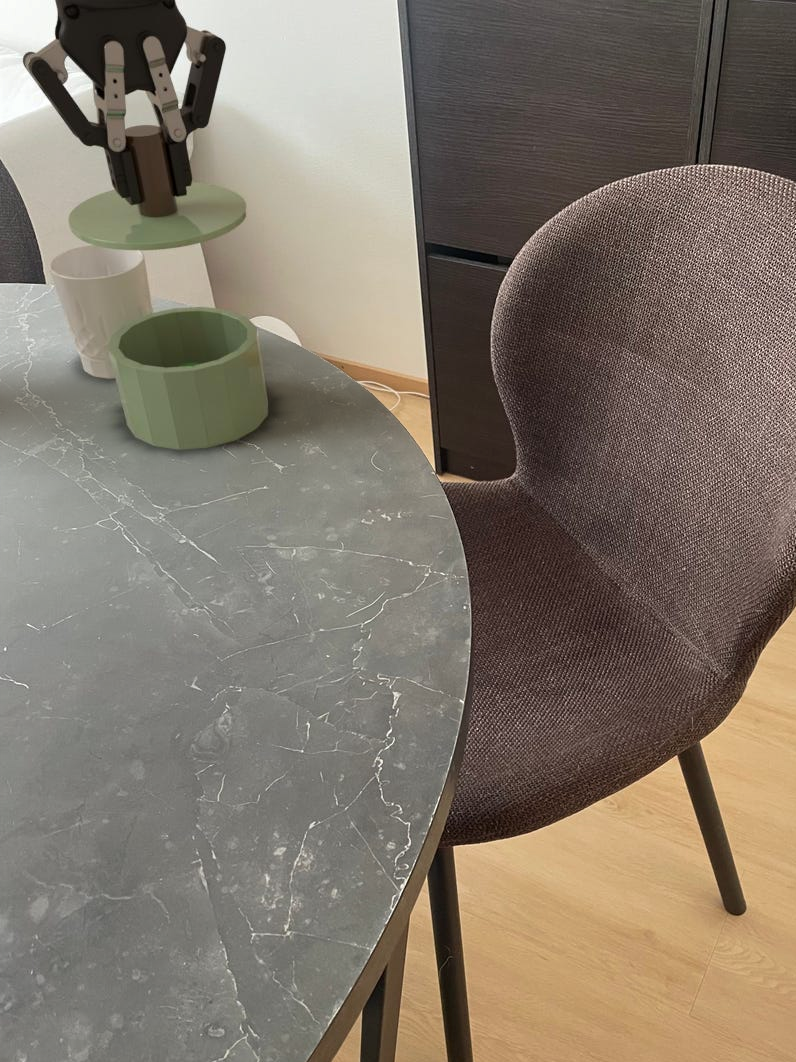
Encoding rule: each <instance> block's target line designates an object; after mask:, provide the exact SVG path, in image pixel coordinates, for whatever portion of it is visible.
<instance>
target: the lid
mask: <svg viewBox="0 0 796 1062" xmlns="http://www.w3.org/2000/svg"><path fill="white" fill-rule="evenodd" d="M125 136H126V148H128V149H129V150H130V151H131V154H132V159H133V163H134V168H135V173H136V178H137V183H138V187H139V192H140V197H141V204H137V205H130V204H129V203H128V202H127V201H126V200H125V198H122V197H121V196H120V195H119V194H118V193H117V192H116V190H115V189H112V190H108V191H104V192H102V193H99V194H96V195H94V196H92V197H89V198H87V199H86V200H84V201H82V202H80V203H78V204H77V206H75V207H74V208H73V209H71V212H70V213H69V215H68V219H67V221H68V226H69V229H70V232H71V233H72V234H73V236H74V237H76V238H77V239H79V240H81V241H82V242H84V243H87V244H88V245H90V244H92V245H96V246H100V247H105V248H111V249H119V250H141V251H158V250H169V249H170V250H171V249H177V248H183V247H188V246H193V245H197V244H202V243H205V242H208V241H212V240H214V239H217V238H219V237H222V236H225V235H226V234H229V233H230V232H231V231H233V230H236V228H238V227H239V226H240V225H241V224H242V223H243V222H244V221H245V219H246V218H247V215H248V208H247V202H246V201H245V198H243V196H241V195H240V194H238V192H236V191H234V190H232V189H230V188H226V187H223V186H220V185H215V184H211V183H203V182H194V181H192V183H191V186H187V187H186V190H187V195H185V196H180V197H176V196H175V191H174V186H173V180H172V175H171V170H170V164H169V159H168V154H167V148H166V143H165V138H164V132H163V129H162V128H161V127H159V125H153V124H141V125H134V126H130V127H126V128H125Z"/></svg>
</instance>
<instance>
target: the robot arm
mask: <svg viewBox="0 0 796 1062" xmlns="http://www.w3.org/2000/svg"><path fill="white" fill-rule="evenodd" d="M54 2H55V6H56V11H57V12H56V13H57V19H56V24H55V27H54V36H55V39H54V40H52V41H51V42H49V43H48V44H47V45H45V46H44V47H43V48H41V49H40V50H38V51H37V52H35V51H28V52H25V54H24V55H23V56H22V64H23V66H24V68H25V69H26V71H27V72H28V74H29V75H30V76H31V77H32V79H33V80H34V82H35V83H36V84H37V86H38V87H39V89H40V90H41V92H42V93H43V94H44V96H45V97H46V98H47V100H48V101H49V103H50V104H51V105H52V107H53V109H55V111H56V113H58V115H59V116H60V118H61V119H62V121H63V122H64V124H65V125H66V126H67V127H68V129H69V130H70V132H71V133H72V134H73V135H74V136H75V137H76V138H77V139H78V140H79V141H80V143H82V144H83V145H84V146H86V147H94V146H95V147H100V148H103V151H104V154H105V159H106V163H107V167H108V172H109V176H110V181H111V185H112V187H113V190H116V192H117V193H118V194H119V195H120V196H121V197H122V198H125V200H126V201H127V202H128V203H129V204H130V205H137V204H141V197H140V192H139V187H138V183H137V178H136V173H135V168H134V163H133V159H132V154H131V151H130V150H129V149H128V148H126V136H125V129H126V122H125V117H126V114H127V105H126V103H127V102H126V96H128V95H130V94H132V93H134V92H137V91H144V92H145V94H146V96H147V98H148V100H149V102H150V104H151V106H152V109H153V112H154V116H155V118H156V122H157V126H159V127H161V128H162V129H163V132H164V138H165V143H166V148H167V154H168V159H169V164H170V170H171V175H172V180H173V186H174V191H175V196H176V197H180V196H185V195H187V190H186V187H187V186H191V183H192V182H193V173H192V169H191V162H190V156H189V151H188V145H187V141H188V140H187V139H188V137H189V135H190V134H191V133H193V132H194V131H196V130H198V129H205V128H207V126H208V125H209V123H210V120H211V119H210V118H211V115H212V110H213V106H214V102H215V97H216V93H217V90H218V89H217V88H218V84H219V82H220V81H219V80H220V76H221V71H222V67H223V64H224V59H225V56H226V52H227V51H226V50H227V44H226V42H225V41H224V39H223V38H222V37H219V36H217V35H216V34H214V33H212V32H211V31H209V30H206V29H203V30H198V29H196V28H194V27H190V26H188V23H187V22H186V19H185V18H184V15H183V14H182V13H181V11H180V10H179V7H178V4H177V2H176V0H54ZM184 44H185V47H186V52H185V53H186V58H187V60H188V61H189V62H191V63H190V68H189V73H188V77H187V81H186V86H185V91H184V95H183V100H182V104H181V108H179V99H178V95H177V93H176V90H175V87H174V84H173V80H172V77H171V76H172V75H171V74H172V72H173V70H174V69H175V66H176V63H177V60H178V58H179V56H180V53H181V51H182V49H183V47H184ZM66 58H69V59H70V60H71V61H72V62H73V63H74V64H75V65H76V66H77V67H78V68H79V69H80V71H82V72H83V73H84V74H85V76H86V77H87V78H88V79H90V80H91V82H92V91H93V93H92V94H93V101H94V102H93V103H94V104H95V108H96V109H95V110H96V119H97V122H93V121H91V120H90V121H89V119H88V118H87V116H86V115H85V114H84V112H83V111H82V110H81V108H80V106H79V105H78V103H77V102H76V101H75V99H74V98H73V97H72V95H71V94H70V93H69V91H68V89H67V88H66V87H65V84H66V83H67V82H68V79H69V73H68V70H67V68H66V65H65V61H66Z"/></svg>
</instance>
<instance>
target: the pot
mask: <svg viewBox="0 0 796 1062" xmlns="http://www.w3.org/2000/svg"><path fill="white" fill-rule="evenodd" d="M108 351H109V355H110V359H111V363H112V367H113V371H114V375H115V378H114V379H115V383H116V387H117V390H118V395H119V399H120V401H121V407H122V410H123V414H124V418H125V422H126V426H127V427H128V429H129V430H130V431H131V433H132V435H133V436H134V437H135V438H136V439H137V440H140V441H142V442H144V443H147V444H149V445H151V446H153V447H158V448H165V449H171V450H172V449H173V450H179V451H183V450H184V451H185V450H195V449H208V448H213V447H217V446H221V445H224V444H227V443H231V442H235V441H237V440H239V439H241V438H243V437H245V436H246V435H248V434H250V433H251V432H254V431H255V430H257V429H258V428H259V427H260V426H261V424H262V423H263V422H264V420H265V419H267V417H268V415H269V400H268V392H267V386H266V379H265V373H264V366H263V359H262V352H261V345H260V338H259V333H258V327H257V326H256V325H255V324H254V323H253V322H252V321H251V319H249V318H248V317H247V316H246V315H244V314H243V315H242V314H240V313H237V312H235V311H232V310H229V309H225V308H216V307H207V306H192V307H189V306H188V307H174V308H168V309H165V310H160V311H156V312H154V313H151V314H148V315H145V316H142V317H140V318H138V319H135V320H133V321H131V322H129V323H126V324H125V325H124V326H122V327H121V328H120V329H119V330H118V331H117V332H115V333H114V334H113V335H112V336H111V340H110V343H109V347H108ZM192 362H194V363H200V364H199V365H195V366H184V367H179V366H180V365H182V364H185V363H192Z"/></svg>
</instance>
